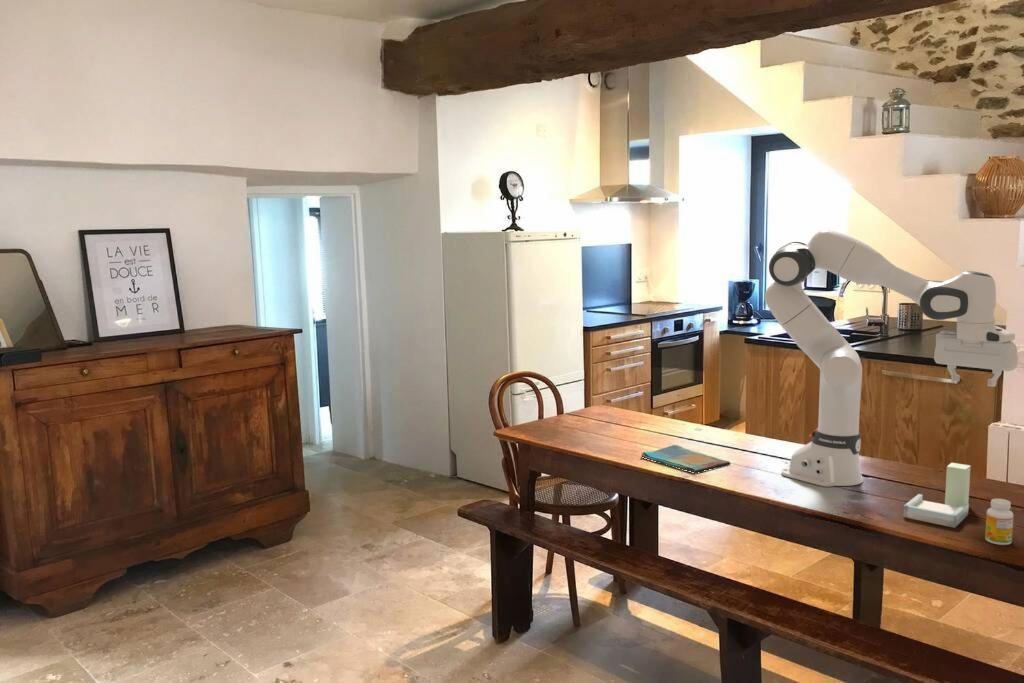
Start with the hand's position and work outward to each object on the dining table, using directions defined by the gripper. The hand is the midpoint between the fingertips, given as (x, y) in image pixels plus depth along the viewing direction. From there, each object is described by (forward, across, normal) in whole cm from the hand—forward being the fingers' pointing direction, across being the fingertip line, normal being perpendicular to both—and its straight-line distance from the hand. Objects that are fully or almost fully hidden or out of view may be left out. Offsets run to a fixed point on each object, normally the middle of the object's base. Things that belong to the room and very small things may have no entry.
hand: (973, 383), depth 221 cm
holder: (+31, +2, -22) cm, 38 cm away
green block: (+31, +2, -11) cm, 33 cm away
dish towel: (+31, -72, -34) cm, 85 cm away
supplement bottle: (+31, +20, -27) cm, 46 cm away
